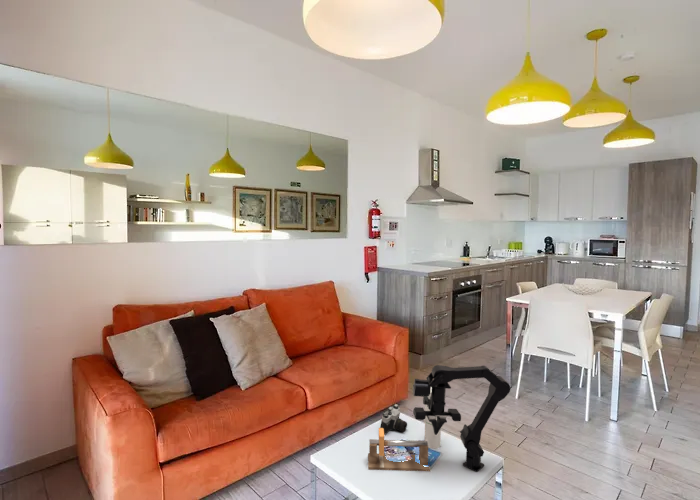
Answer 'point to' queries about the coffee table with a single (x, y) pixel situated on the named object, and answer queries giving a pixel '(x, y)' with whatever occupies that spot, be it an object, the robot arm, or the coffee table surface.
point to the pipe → (400, 443)
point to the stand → (383, 464)
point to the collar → (381, 441)
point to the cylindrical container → (431, 432)
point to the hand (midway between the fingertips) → (435, 434)
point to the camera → (392, 420)
